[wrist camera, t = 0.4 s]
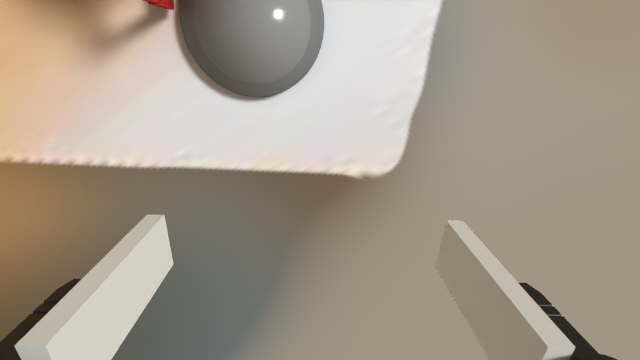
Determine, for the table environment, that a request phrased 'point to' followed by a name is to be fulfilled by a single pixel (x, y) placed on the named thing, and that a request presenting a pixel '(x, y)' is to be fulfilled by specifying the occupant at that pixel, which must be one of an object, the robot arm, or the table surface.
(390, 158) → the table surface
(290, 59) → the plate
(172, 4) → the mug
